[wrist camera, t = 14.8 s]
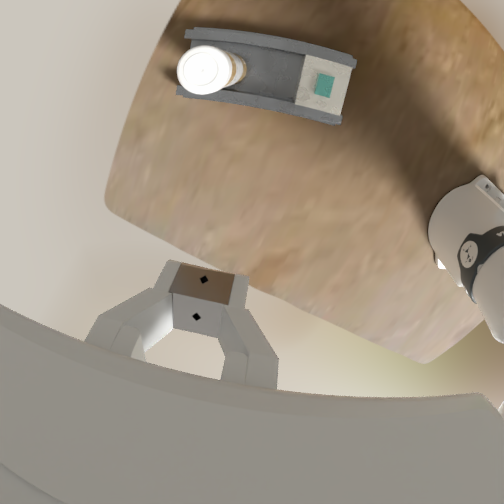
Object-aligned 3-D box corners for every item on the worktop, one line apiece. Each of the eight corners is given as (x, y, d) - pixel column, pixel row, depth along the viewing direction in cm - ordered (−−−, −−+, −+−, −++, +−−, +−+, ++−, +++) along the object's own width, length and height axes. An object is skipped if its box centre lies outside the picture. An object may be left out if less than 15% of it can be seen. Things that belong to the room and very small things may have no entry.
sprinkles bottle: (204, 66, 31) (165, 67, 20) (233, 46, 29) (207, 34, 18) (225, 92, 33) (195, 105, 22) (255, 73, 31) (239, 74, 20)
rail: (351, 55, 29) (367, 53, 23) (333, 124, 35) (344, 137, 29) (196, 27, 29) (175, 19, 22) (185, 96, 34) (163, 103, 28)
